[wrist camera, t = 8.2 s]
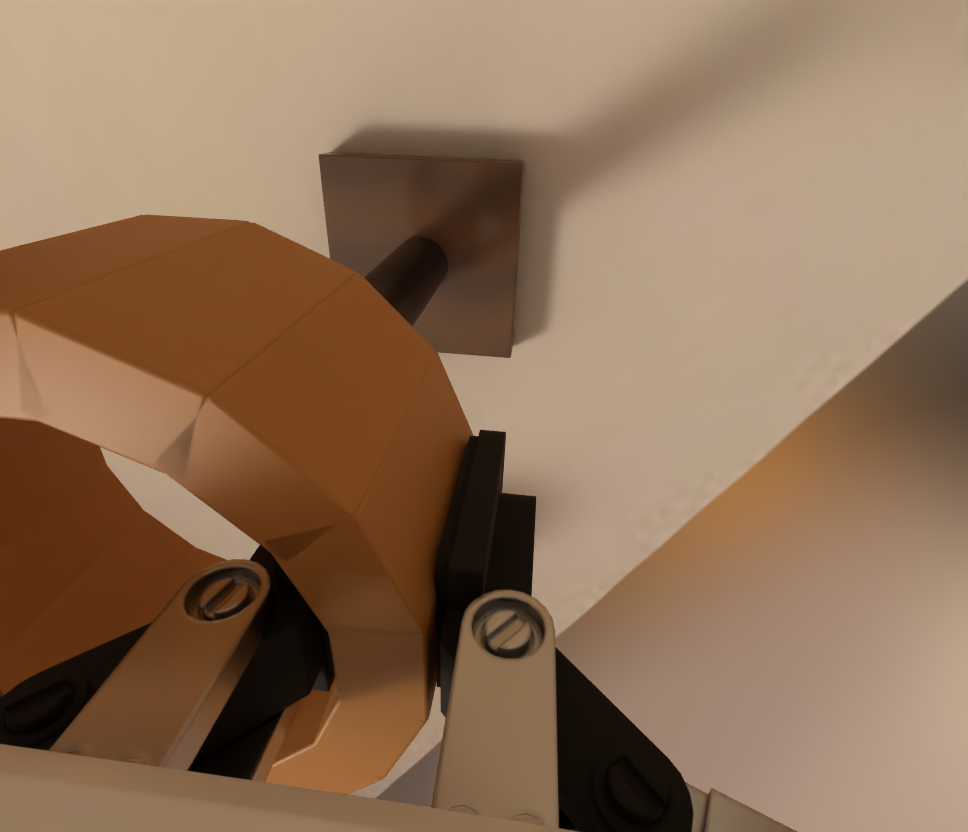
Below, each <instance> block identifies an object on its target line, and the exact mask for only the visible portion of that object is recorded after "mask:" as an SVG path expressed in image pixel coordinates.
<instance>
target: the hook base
mask: <svg viewBox="0 0 968 832" xmlns="http://www.w3.org/2000/svg"><path fill="white" fill-rule="evenodd" d="M319 162H320V171H321V180H322V189H323V198H324V207H325V216H326V225H327V234H328V243H329V252H330V259H331V260H333V261H335V262H338V263H340V264H342V265H344V266H346V267H348V268H350V269H352V270H354V271H356V272H357V273H359V274H361V275H362V276H363V277H365V276H366V275H367V274H368V273H369V272H370V271H372V270H373V269H374V268H375V267H376V266H377V265H378V264H380V263H381V262H382V261H383V260H384V259H385V258H386V257H388V256H389V255H390V254H391V253H392V252H393V251H394V250H396V249H397V248H398V247H399V246H400V245H401V244H402V243H404V242H405V241H406V240H408V239H410V238H413V237H425V238H428V239H431V240H433V241H434V242H436V243H437V244H438V245H439V246H440V247H441V248H442V250H443V251H444V253H445V255H446V258H447V265H448V266H447V273H446V276H445V278H444V280H443V281H442V283H441V284H440V286H439V287H438V289H437V290H436V292H435V294H434V295H433V297H432V298H431V300H430V301H429V303H428V304H427V306H426V307H425V309H424V310H423V312H422V313H421V315H420V316H419V318H418V319H417V321H416V323H415V324H414V326H413V328H414V329H415V330H416V331H417V332H418V333H419V334H420V335H421V336H422V337H423V338H424V339H425V340H426V341H427V342H428V343H429V344H430V345H431V346H432V347H433V348H434V349H435V351H436V352H440V353H453V354H466V355H479V356H492V357H506V358H510V357H511V352H512V347H513V331H514V315H515V300H516V284H517V268H518V253H519V237H520V221H521V206H522V190H523V174H524V161H509V160H487V159H466V158H444V157H422V156H400V155H378V154H356V153H334V152H330V153H325V154H320V155H319Z"/></svg>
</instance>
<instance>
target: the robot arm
mask: <svg viewBox="0 0 968 832" xmlns="http://www.w3.org/2000/svg"><path fill="white" fill-rule="evenodd" d="M505 440H506V432H499V431H488V430H480V432H479V436H469V440H468V443H467V447H466V451H465V455H464V459H463V462H462V466H461V470H460V474H459V478H458V481H457V485H456V489H455V493H454V497H453V500H452V504H451V508H450V512H449V516H448V519H447V523H446V527H445V531H444V535H443V538H442V542H441V546H440V550H439V554H438V558H437V564H436V573H435V592H436V610H437V687H441V712H442V714H443V715H444V716H445V718H446V720H445V726H444V732H443V738H442V744H441V751H440V757H439V763H438V770H437V775H436V781H435V788H434V794H433V800H432V806H431V808H430V807H423V806H418V805H410V804H405V803H398V802H392V801H385V800H378V799H372V798H366V797H359V796H353V795H346V794H340V793H333V792H326V791H320V790H313V789H306V788H299V787H293V786H286V785H279V784H273V783H266V780H267V777H268V775H269V773H270V771H271V768H272V766H273V764H274V762H275V759H276V757H277V755H278V753H279V750H280V748H281V746H282V744H283V741H284V739H285V737H286V735H287V732H288V730H289V728H290V726H291V723H292V721H293V719H294V717H295V713H296V710H297V706H298V701H299V700H301V699H302V698H304V697H306V696H307V695H309V694H310V693H311V691H312V690H318V691H325V692H329V690H330V688H331V685H332V683H333V680H334V677H335V671H334V665H333V659H332V653H331V647H330V641H329V635H328V632H327V630H326V629H325V628H324V626H323V625H322V623H321V622H320V621H319V619H318V618H317V616H316V615H315V614H314V612H313V611H312V609H311V608H310V607H309V605H308V604H307V603H306V601H305V600H304V598H303V597H302V596H301V594H300V593H299V591H298V590H297V589H296V587H295V586H294V584H293V583H292V582H291V580H290V579H289V577H288V576H287V575H286V573H285V572H284V570H283V569H282V568H281V566H280V565H279V563H278V562H277V561H276V559H275V558H274V557H273V555H272V554H271V552H269V551H268V550H267V549H265V548H264V547H263V546H261V545H259V547H258V548H257V550H256V551H255V553H254V554H253V556H252V557H251V559H250V560H243V559H233V560H228V561H223V562H218V563H216V564H213V565H211V566H208V567H206V568H204V569H202V570H201V571H199V572H197V573H196V574H194V575H193V576H191V577H190V578H189V579H188V580H187V581H186V582H185V583H184V584H183V585H182V586H181V587H180V588H179V590H178V591H177V592H176V593H175V595H174V596H173V597H172V598H171V600H170V601H169V602H168V603H167V605H166V606H165V607H164V608H163V610H162V611H161V612H160V613H159V615H158V616H157V617H156V618H155V619H154V621H153V622H151V623H149V624H147V625H144V626H142V627H140V628H138V629H135V630H133V631H131V632H129V633H126V634H124V635H122V636H120V637H117V638H115V639H113V640H111V641H108V642H106V643H104V644H102V645H99V646H97V647H95V648H93V649H90V650H88V651H86V652H84V653H81V654H79V655H77V656H75V657H72V658H70V659H68V660H66V661H63V662H61V663H59V664H57V665H54V666H52V667H50V668H48V669H45V670H43V671H41V672H39V673H37V674H35V675H33V676H31V677H30V678H28V679H26V680H24V681H22V682H20V683H19V684H18V685H16V686H15V687H14V688H12V689H11V690H10V691H9V692H7V693H6V694H5V695H4V694H3V693H2V691H1V690H0V832H797V831H795V830H793V829H791V828H789V827H787V826H785V825H783V824H781V823H779V822H777V821H775V820H773V819H771V818H770V817H768V816H766V815H764V814H762V813H760V812H758V811H756V810H754V809H752V808H750V807H748V806H746V805H744V804H742V803H740V802H738V801H736V800H734V799H732V798H730V797H729V796H727V795H725V794H723V793H721V792H719V791H717V790H715V789H713V788H711V790H710V792H709V794H707V793H705V792H703V791H701V790H699V789H697V788H695V787H694V786H692V785H690V784H688V783H686V782H685V781H684V779H683V777H682V776H681V773H680V772H679V771H678V770H677V768H676V767H675V766H674V765H673V764H672V762H671V761H670V760H669V759H668V757H667V756H665V754H663V753H662V752H661V751H660V750H659V749H658V748H657V747H656V746H655V745H654V744H653V743H652V742H651V741H650V740H649V739H648V738H647V737H646V736H645V735H644V734H643V733H642V732H641V731H640V730H639V729H638V728H637V727H636V726H635V725H634V724H633V723H632V722H631V721H630V720H629V719H628V718H627V717H626V716H625V715H624V714H623V713H622V712H621V711H620V710H619V709H618V708H617V707H616V706H615V705H614V704H613V703H612V702H611V701H610V700H609V699H608V698H607V697H606V696H605V695H604V694H602V692H601V691H600V690H599V689H598V688H597V687H596V686H594V685H593V684H592V683H591V682H590V681H589V680H588V679H587V678H586V677H585V676H584V675H583V674H582V673H581V672H580V671H579V670H578V669H577V668H576V667H575V666H574V665H573V664H572V663H571V662H570V661H569V660H568V659H567V658H566V657H565V656H564V655H563V654H562V653H561V652H560V651H559V650H558V649H557V648H556V647H555V629H554V624H553V619H552V617H551V615H550V614H549V612H548V610H547V609H546V607H545V606H543V605H542V604H541V603H540V602H539V601H538V600H537V599H535V598H534V597H532V596H531V594H532V574H533V553H534V532H535V512H536V496H526V495H516V494H506V493H502V486H503V471H504V455H505Z"/></svg>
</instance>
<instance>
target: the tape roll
mask: <svg viewBox="0 0 968 832" xmlns="http://www.w3.org/2000/svg"><path fill="white" fill-rule="evenodd" d="M469 436H473V433H472V431H471V429H470V426H469V424H468V422H467V419H466V417H465V415H464V413H463V410H462V408H461V406H460V403H459V401H458V399H457V396H456V394H455V392H454V389H453V387H452V385H451V383H450V380H449V378H448V376H447V373H446V371H445V369H444V366H443V364H442V362H441V360H440V357H439V355H438V353H437V352H436V351H435V349H434V348H433V347H432V346H431V345H430V344H429V343H428V342H427V341H426V340H425V339H424V338H423V337H422V336H421V335H420V334H419V333H418V332H417V331H416V330H415V329H414V328H413V327H412V326H411V325H410V324H409V323H408V322H407V321H406V320H405V319H404V318H403V317H402V316H401V315H400V314H399V313H398V312H397V311H396V310H395V309H394V308H393V307H392V306H391V305H390V304H389V303H388V302H387V301H386V299H385V298H384V297H383V296H382V295H381V294H380V293H379V292H378V291H377V290H376V289H375V288H374V287H373V286H372V285H371V284H370V283H369V282H368V281H367V280H366V279H365V278H364V277H363V276H362V275H361V274H359V273H357V272H356V271H354V270H352V269H350V268H348V267H346V266H344V265H342V264H340V263H338V262H335V261H333V260H331V259H329V258H327V257H325V256H323V255H321V254H319V253H317V252H315V251H312V250H310V249H308V248H306V247H304V246H302V245H300V244H298V243H296V242H294V241H291V240H289V239H287V238H285V237H283V236H281V235H279V234H277V233H275V232H273V231H271V230H268V229H266V228H264V227H262V226H260V225H258V224H256V223H250V222H248V221H240V220H224V219H208V218H192V217H175V216H159V215H140V216H136V217H132V218H128V219H124V220H120V221H116V222H112V223H108V224H104V225H100V226H96V227H92V228H88V229H84V230H80V231H76V232H72V233H68V234H65V235H61V236H57V237H53V238H49V239H45V240H41V241H37V242H33V243H29V244H25V245H21V246H17V247H13V248H9V249H5V250H1V251H0V690H1V691H2V693H3V694H4V695H5V694H6V693H7V692H9V691H10V690H11V689H12V688H14V687H15V686H16V685H18V684H19V683H20V682H22V681H24V680H26V679H28V678H30V677H31V676H33V675H35V674H37V673H39V672H41V671H43V670H45V669H48V668H50V667H52V666H54V665H57V664H59V663H61V662H63V661H66V660H68V659H70V658H72V657H75V656H77V655H79V654H81V653H84V652H86V651H88V650H90V649H93V648H95V647H97V646H99V645H102V644H104V643H106V642H108V641H111V640H113V639H115V638H117V637H120V636H122V635H124V634H126V633H129V632H131V631H133V630H135V629H138V628H140V627H142V626H144V625H147V624H149V623H151V622H153V621H154V619H155V618H156V617H157V616H158V615H159V613H160V612H161V611H162V610H163V608H164V607H165V606H166V605H167V603H168V602H169V601H170V600H171V598H172V597H173V596H174V595H175V593H176V592H177V591H178V590H179V588H180V587H181V586H182V585H183V584H184V583H185V582H186V581H187V580H188V579H189V578H190V577H191V576H193V575H194V574H196V573H197V572H199V571H201V570H202V569H204V568H206V567H208V566H211V565H213V564H216V563H218V562H223V561H228V560H226V559H223V558H221V557H218V556H216V555H213V554H211V553H208V552H206V551H203V550H200V549H198V548H196V547H194V546H193V545H191V544H190V543H189V542H187V541H186V540H184V539H183V538H182V537H180V536H179V535H177V534H176V533H175V532H173V531H172V530H171V529H169V528H168V527H166V526H165V525H164V524H162V523H161V522H159V521H158V520H157V519H155V518H154V517H152V516H151V515H150V514H148V513H147V512H145V511H144V510H143V509H142V508H141V506H140V505H139V504H138V503H137V501H136V500H135V499H134V498H133V497H132V495H131V494H130V493H129V492H128V490H127V489H126V488H125V487H124V486H123V484H122V483H121V482H120V481H119V480H118V478H117V477H116V476H115V475H114V473H113V472H112V471H111V470H110V469H109V467H108V466H107V464H106V462H105V459H104V456H103V454H102V451H101V449H100V447H102V448H104V449H107V450H109V451H112V452H114V453H116V454H119V455H121V456H124V457H126V458H129V459H131V460H133V461H136V462H138V463H141V464H143V465H146V466H148V467H150V468H153V469H155V470H158V471H160V472H163V473H165V474H167V475H168V476H170V477H171V478H172V479H174V480H175V481H176V482H178V483H179V484H180V485H182V486H183V487H184V488H186V489H187V490H188V491H190V492H191V493H192V494H194V495H195V496H196V497H198V498H199V499H200V500H202V501H203V502H204V503H206V504H207V505H208V506H210V507H211V508H212V509H213V510H215V511H216V512H217V513H219V514H220V515H221V516H223V517H224V518H225V519H227V520H228V521H229V522H231V523H232V524H233V525H235V526H236V527H237V528H239V529H240V530H241V531H243V532H244V533H245V534H247V535H248V536H249V537H251V538H252V539H253V540H255V541H256V542H257V543H259V544H260V545H261V546H263V547H264V548H265V549H267V550H268V551H269V552H271V554H272V555H273V557H274V558H275V559H276V561H277V562H278V563H279V565H280V566H281V568H282V569H283V570H284V572H285V573H286V575H287V576H288V577H289V579H290V580H291V582H292V583H293V584H294V586H295V587H296V589H297V590H298V591H299V593H300V594H301V596H302V597H303V598H304V600H305V601H306V603H307V604H308V605H309V607H310V608H311V609H312V611H313V612H314V614H315V615H316V616H317V618H318V619H319V621H320V622H321V623H322V625H323V626H324V628H325V629H326V630H327V632H328V635H329V641H330V647H331V653H332V659H333V665H334V671H335V677H334V680H333V683H332V685H331V688H330V690H329V692H325V691H318V690H312V691H311V693H310V694H309V695H307V696H306V697H304V698H302V699H301V700H299V701H298V706H297V710H296V713H295V717H294V719H293V721H292V723H291V726H290V728H289V730H288V732H287V735H286V737H285V739H284V741H283V744H282V746H281V748H280V750H279V753H278V755H277V757H276V759H275V762H274V764H273V766H272V768H271V771H270V773H269V775H268V777H267V780H266V783H273V784H279V785H286V786H293V787H299V788H306V789H313V790H320V791H326V792H333V793H340V794H349V793H351V792H353V791H356V790H358V789H361V788H363V787H366V786H368V785H370V784H373V783H375V782H378V781H380V780H382V779H383V778H384V777H386V775H387V774H388V773H389V771H390V770H391V769H392V767H393V766H394V765H395V763H396V762H397V761H398V759H399V758H400V757H401V755H402V754H403V752H404V751H405V750H406V748H407V747H408V746H409V744H410V743H411V742H412V740H413V739H414V738H415V736H416V735H417V734H418V732H419V731H420V730H421V728H422V727H423V726H424V724H425V723H426V722H427V720H428V718H429V715H430V710H431V705H432V700H433V696H434V691H435V686H436V681H437V610H436V592H435V573H436V564H437V558H438V554H439V550H440V546H441V542H442V538H443V535H444V531H445V527H446V523H447V519H448V516H449V512H450V508H451V504H452V500H453V497H454V493H455V489H456V485H457V481H458V478H459V474H460V470H461V466H462V462H463V459H464V455H465V451H466V447H467V443H468V440H469Z"/></svg>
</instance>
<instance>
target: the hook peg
mask: <svg viewBox="0 0 968 832" xmlns="http://www.w3.org/2000/svg"><path fill="white" fill-rule="evenodd" d="M447 266H448V265H447V258H446V255H445V253H444V251H443V250H442V248H441V247H440V246H439V245H438V244H437V243H436V242H434V241H433V240H431V239H428V238H425V237H413V238H410V239H408V240H406V241H405V242H404V243H402V244H401V245H400V246H399V247H398V248H397V249H396V250H394V251H393V252H392V253H391V254H390V255H389V256H388V257H386V258H385V259H384V260H383V261H382V262H381V263H380V264H378V265H377V266H376V267H375V268H374V269H373V270H372V271H370V272H369V273H368V274H367V275H366V276H365V277H364V278H365V279H366V280H367V281H368V282H369V283H370V284H371V285H372V286H373V287H374V288H375V289H376V290H377V291H378V292H379V293H380V294H381V295H382V296H383V297H384V298H385V299H386V301H387V302H388V303H389V304H390V305H391V306H392V307H393V308H394V309H395V310H396V311H397V312H398V313H399V314H400V315H401V316H402V317H403V318H404V319H405V320H406V321H407V322H408V323H409V324H410V325H411V326H412V327H413V326H414V324H415V323H416V321H417V319H418V318H419V316H420V315H421V313H422V312H423V310H424V309H425V307H426V306H427V304H428V303H429V301H430V300H431V298H432V297H433V295H434V294H435V292H436V290H437V289H438V287H439V286H440V284H441V283H442V281H443V280H444V278H445V276H446V273H447Z"/></svg>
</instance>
